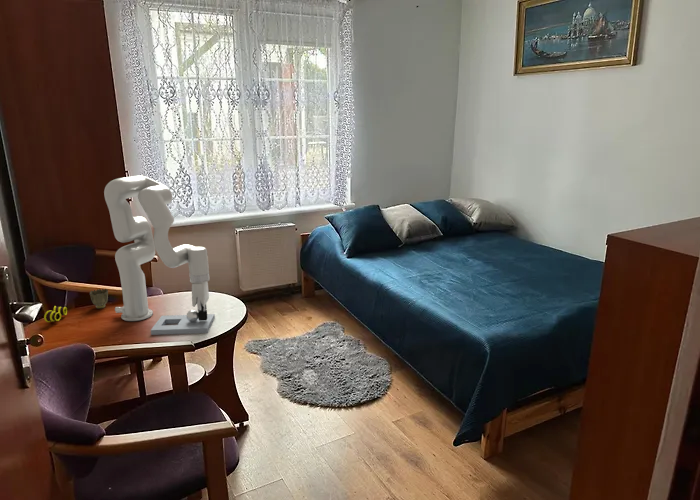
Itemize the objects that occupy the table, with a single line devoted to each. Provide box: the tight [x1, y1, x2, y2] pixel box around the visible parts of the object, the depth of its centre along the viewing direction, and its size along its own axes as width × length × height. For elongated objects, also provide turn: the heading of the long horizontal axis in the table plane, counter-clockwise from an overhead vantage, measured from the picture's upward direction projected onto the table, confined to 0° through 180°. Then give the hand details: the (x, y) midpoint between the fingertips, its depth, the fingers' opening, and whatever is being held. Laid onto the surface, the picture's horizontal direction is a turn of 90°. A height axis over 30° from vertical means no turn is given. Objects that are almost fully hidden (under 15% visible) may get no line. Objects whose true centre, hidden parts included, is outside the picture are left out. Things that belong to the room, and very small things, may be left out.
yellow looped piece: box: [43, 305, 68, 323], centre depth 209 cm, size 10×5×5 cm, turn 4°
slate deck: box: [150, 313, 216, 336], centre depth 202 cm, size 22×15×2 cm
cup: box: [89, 288, 109, 310], centre depth 221 cm, size 8×7×8 cm
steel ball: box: [185, 309, 199, 322], centre depth 201 cm, size 5×5×5 cm
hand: (203, 319), depth 202 cm, fingers closed
